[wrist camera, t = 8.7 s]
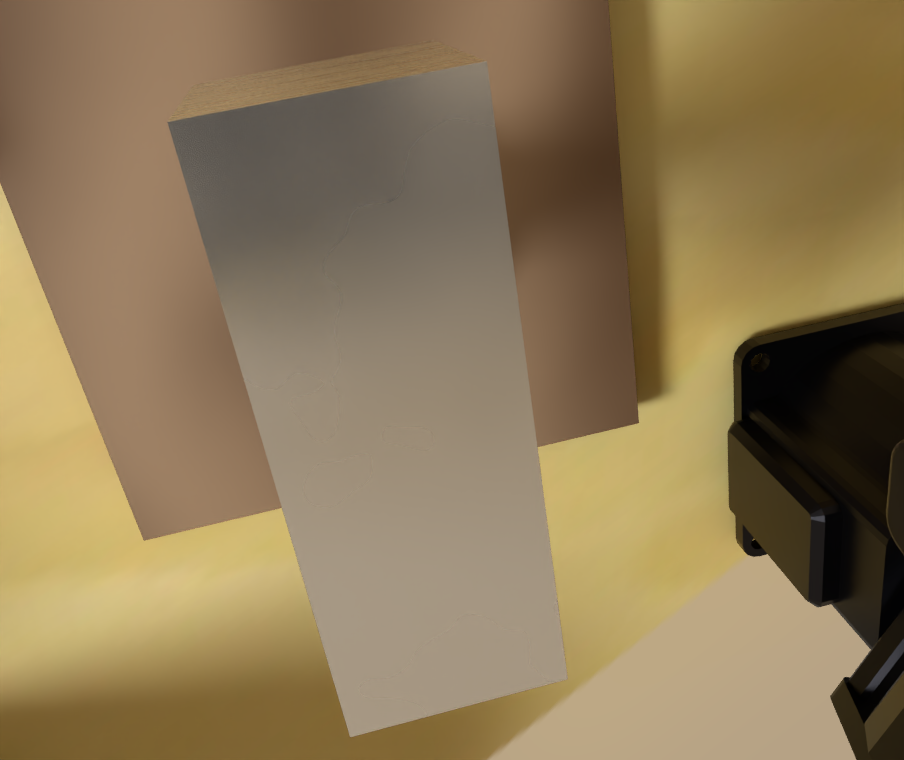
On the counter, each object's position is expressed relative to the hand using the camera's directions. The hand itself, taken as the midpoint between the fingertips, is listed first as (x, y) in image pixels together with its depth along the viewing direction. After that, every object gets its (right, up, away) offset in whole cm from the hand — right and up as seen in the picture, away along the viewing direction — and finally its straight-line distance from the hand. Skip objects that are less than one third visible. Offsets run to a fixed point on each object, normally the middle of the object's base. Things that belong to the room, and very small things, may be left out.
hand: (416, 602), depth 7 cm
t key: (-2, +5, +10) cm, 12 cm away
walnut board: (-2, +5, +11) cm, 12 cm away
